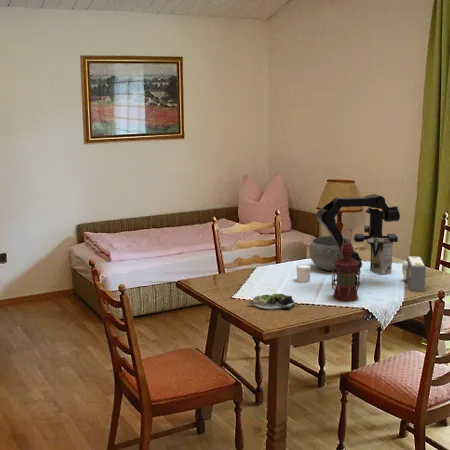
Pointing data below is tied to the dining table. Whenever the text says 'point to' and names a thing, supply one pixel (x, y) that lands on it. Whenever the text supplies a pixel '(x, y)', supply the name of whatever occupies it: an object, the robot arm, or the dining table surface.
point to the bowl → (324, 252)
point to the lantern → (346, 274)
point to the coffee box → (382, 258)
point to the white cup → (303, 273)
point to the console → (416, 274)
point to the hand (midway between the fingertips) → (375, 256)
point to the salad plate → (273, 301)
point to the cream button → (405, 265)
